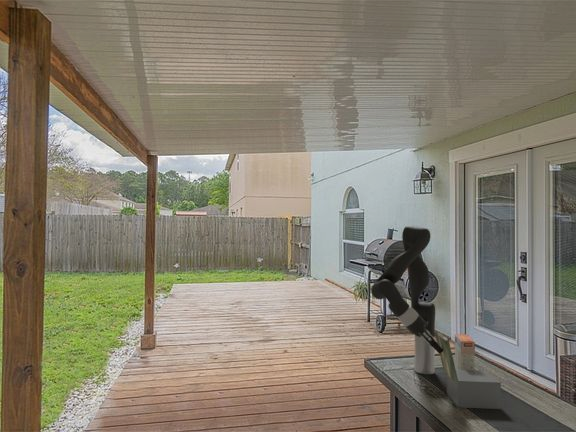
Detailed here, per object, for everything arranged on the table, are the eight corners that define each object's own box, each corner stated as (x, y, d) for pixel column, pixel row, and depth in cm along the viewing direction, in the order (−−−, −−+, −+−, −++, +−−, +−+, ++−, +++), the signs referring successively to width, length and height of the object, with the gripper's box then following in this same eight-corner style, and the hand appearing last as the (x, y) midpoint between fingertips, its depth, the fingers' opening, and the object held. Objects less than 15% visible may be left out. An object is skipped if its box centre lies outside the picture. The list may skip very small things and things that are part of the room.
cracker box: (475, 391, 179) (475, 341, 180) (460, 390, 180) (460, 340, 181) (468, 380, 193) (468, 334, 194) (454, 379, 194) (454, 333, 195)
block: (446, 393, 176) (446, 369, 177) (486, 395, 175) (486, 370, 176) (458, 407, 162) (458, 380, 163) (500, 409, 161) (500, 382, 162)
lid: (446, 369, 177) (443, 369, 177) (437, 331, 178) (434, 331, 178) (458, 381, 162) (454, 382, 162) (448, 339, 163) (445, 340, 163)
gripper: (421, 316, 165) (453, 350, 164) (414, 310, 178) (443, 341, 177) (407, 329, 165) (438, 363, 164) (401, 322, 179) (430, 353, 177)
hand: (441, 351), depth 170 cm, fingers closed
